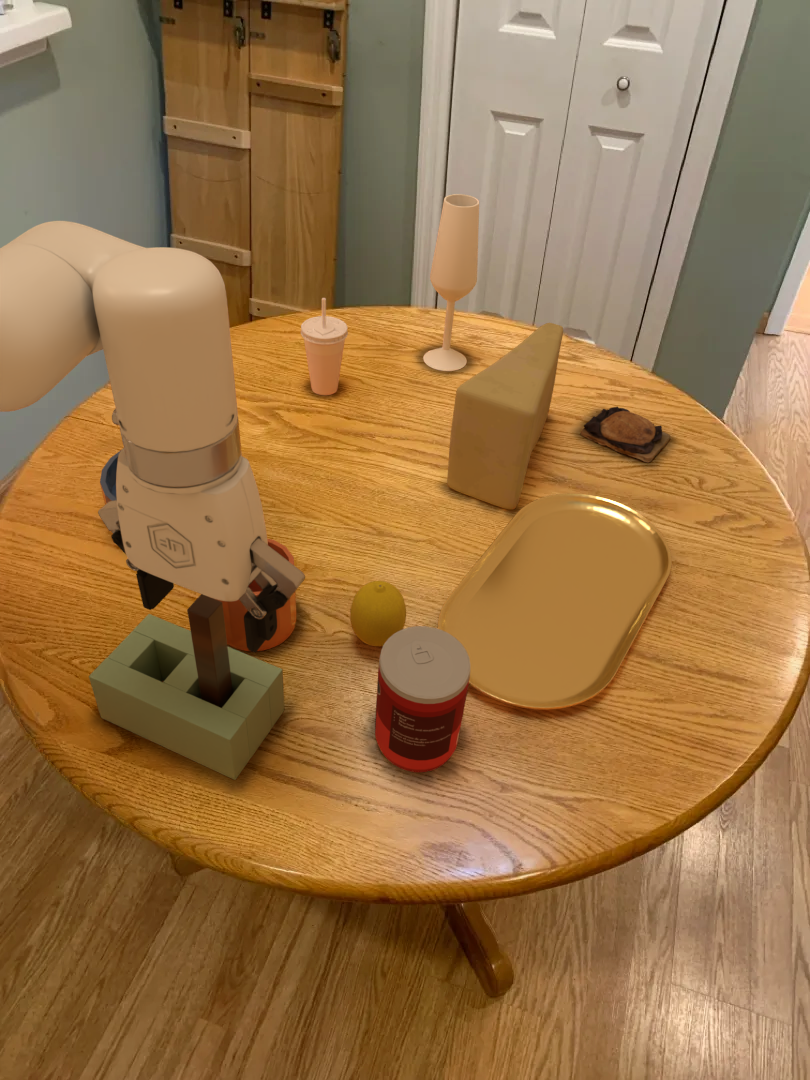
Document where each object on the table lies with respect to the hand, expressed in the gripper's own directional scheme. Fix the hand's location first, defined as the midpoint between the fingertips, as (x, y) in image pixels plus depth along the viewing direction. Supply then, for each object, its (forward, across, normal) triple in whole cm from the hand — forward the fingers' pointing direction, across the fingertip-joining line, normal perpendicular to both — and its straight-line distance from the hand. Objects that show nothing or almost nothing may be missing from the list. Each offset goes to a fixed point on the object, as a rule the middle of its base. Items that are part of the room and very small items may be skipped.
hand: (209, 618), depth 67 cm
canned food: (+15, +16, +7) cm, 23 cm away
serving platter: (+15, +22, +31) cm, 41 cm away
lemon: (+15, +8, +16) cm, 23 cm away
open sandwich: (+15, +22, +65) cm, 70 cm away
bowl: (+14, -22, +22) cm, 35 cm away
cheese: (+15, +9, +53) cm, 56 cm away
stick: (+15, 0, 0) cm, 15 cm away
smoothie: (+15, -20, +55) cm, 60 cm away
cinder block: (+15, -3, 0) cm, 15 cm away
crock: (+15, -4, +12) cm, 20 cm away
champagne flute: (+15, -8, +72) cm, 73 cm away
